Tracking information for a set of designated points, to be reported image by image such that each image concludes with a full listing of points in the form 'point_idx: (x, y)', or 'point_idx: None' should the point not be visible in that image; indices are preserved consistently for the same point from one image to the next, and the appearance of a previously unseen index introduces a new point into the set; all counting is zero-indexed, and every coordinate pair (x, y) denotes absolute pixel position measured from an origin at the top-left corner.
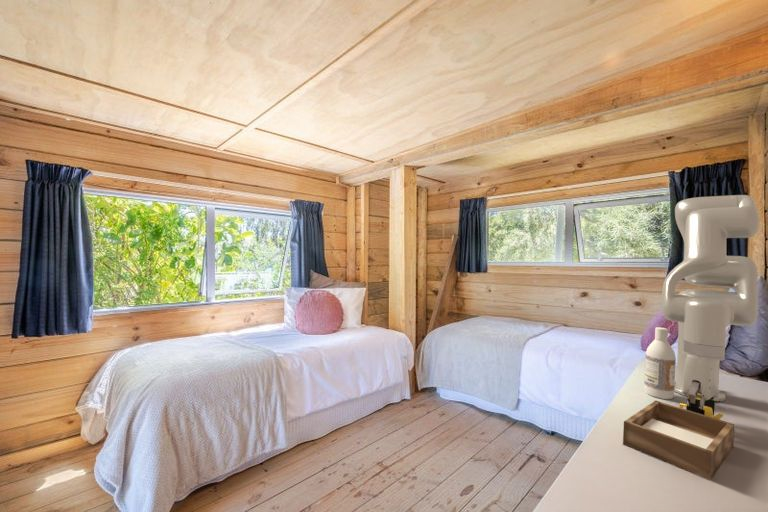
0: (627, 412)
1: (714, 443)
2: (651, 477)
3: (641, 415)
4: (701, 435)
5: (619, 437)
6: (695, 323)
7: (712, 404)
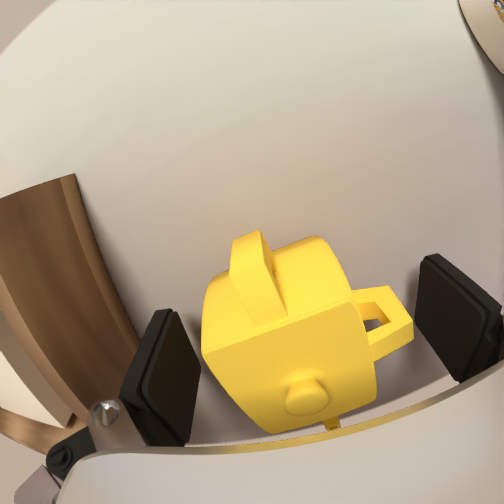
0: (41, 63)
1: (8, 435)
2: None
3: None
4: (41, 405)
5: None
6: None
7: (447, 366)
